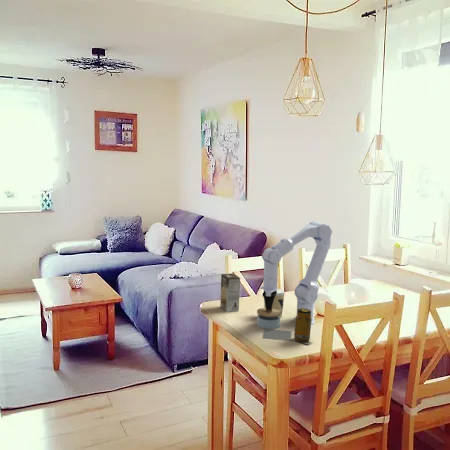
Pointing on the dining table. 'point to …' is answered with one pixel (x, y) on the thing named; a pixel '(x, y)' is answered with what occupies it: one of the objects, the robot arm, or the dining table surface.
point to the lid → (268, 312)
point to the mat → (277, 334)
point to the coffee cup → (278, 301)
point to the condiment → (302, 326)
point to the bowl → (268, 322)
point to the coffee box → (230, 292)
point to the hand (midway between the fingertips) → (269, 308)
